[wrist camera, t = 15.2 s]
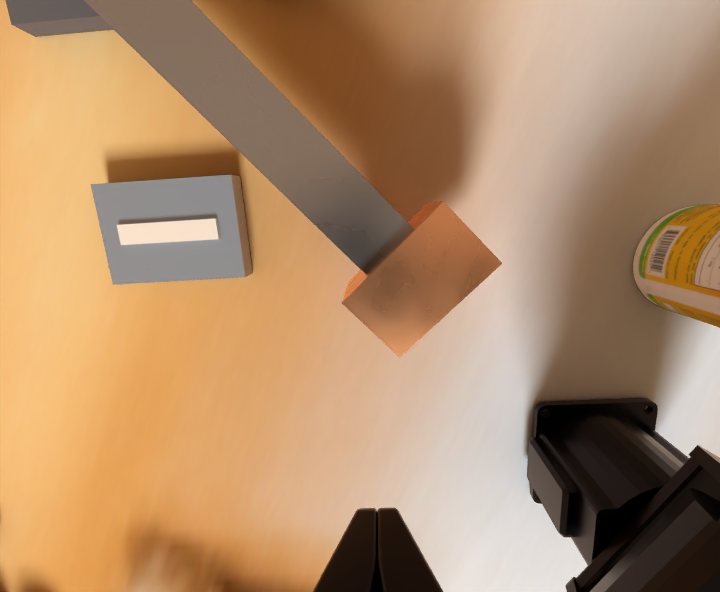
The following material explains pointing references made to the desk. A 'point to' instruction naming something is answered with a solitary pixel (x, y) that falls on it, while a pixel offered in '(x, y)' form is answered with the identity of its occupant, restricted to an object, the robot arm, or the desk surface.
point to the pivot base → (54, 17)
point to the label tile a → (174, 229)
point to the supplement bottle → (682, 263)
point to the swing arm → (312, 174)
